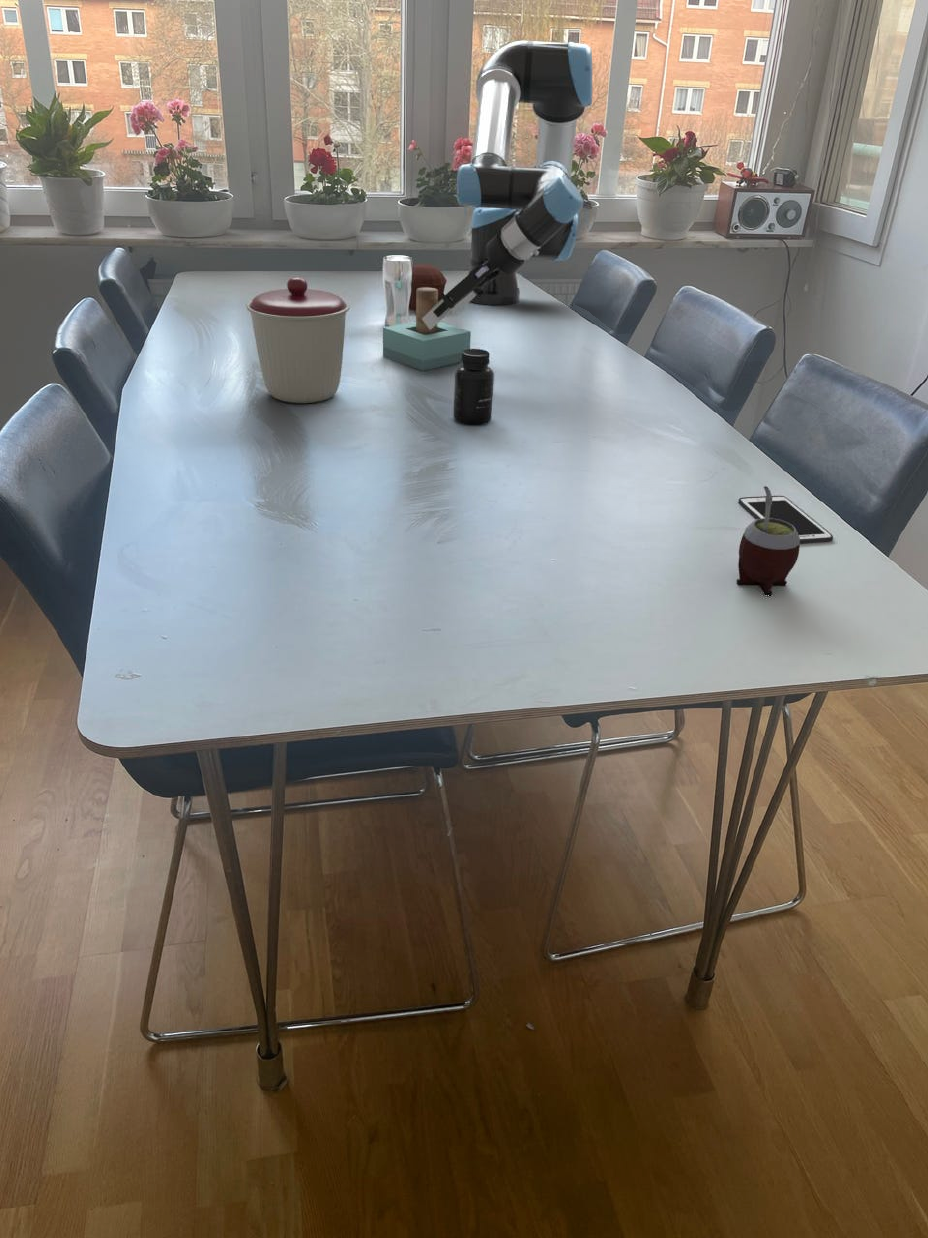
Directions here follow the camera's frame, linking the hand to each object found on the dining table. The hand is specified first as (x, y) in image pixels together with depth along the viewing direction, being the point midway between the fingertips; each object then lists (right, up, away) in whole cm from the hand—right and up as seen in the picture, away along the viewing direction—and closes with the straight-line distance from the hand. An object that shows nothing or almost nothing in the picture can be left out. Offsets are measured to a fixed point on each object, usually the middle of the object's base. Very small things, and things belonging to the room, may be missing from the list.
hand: (438, 316), depth 194 cm
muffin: (-5, +17, +45) cm, 48 cm away
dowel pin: (-3, -5, +4) cm, 7 cm away
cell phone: (+51, -49, -58) cm, 91 cm away
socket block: (-3, -7, +6) cm, 9 cm away
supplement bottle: (+7, -27, -26) cm, 38 cm away
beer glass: (-11, +7, +29) cm, 31 cm away
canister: (-25, -21, -18) cm, 37 cm away
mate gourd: (+42, -58, -76) cm, 104 cm away
